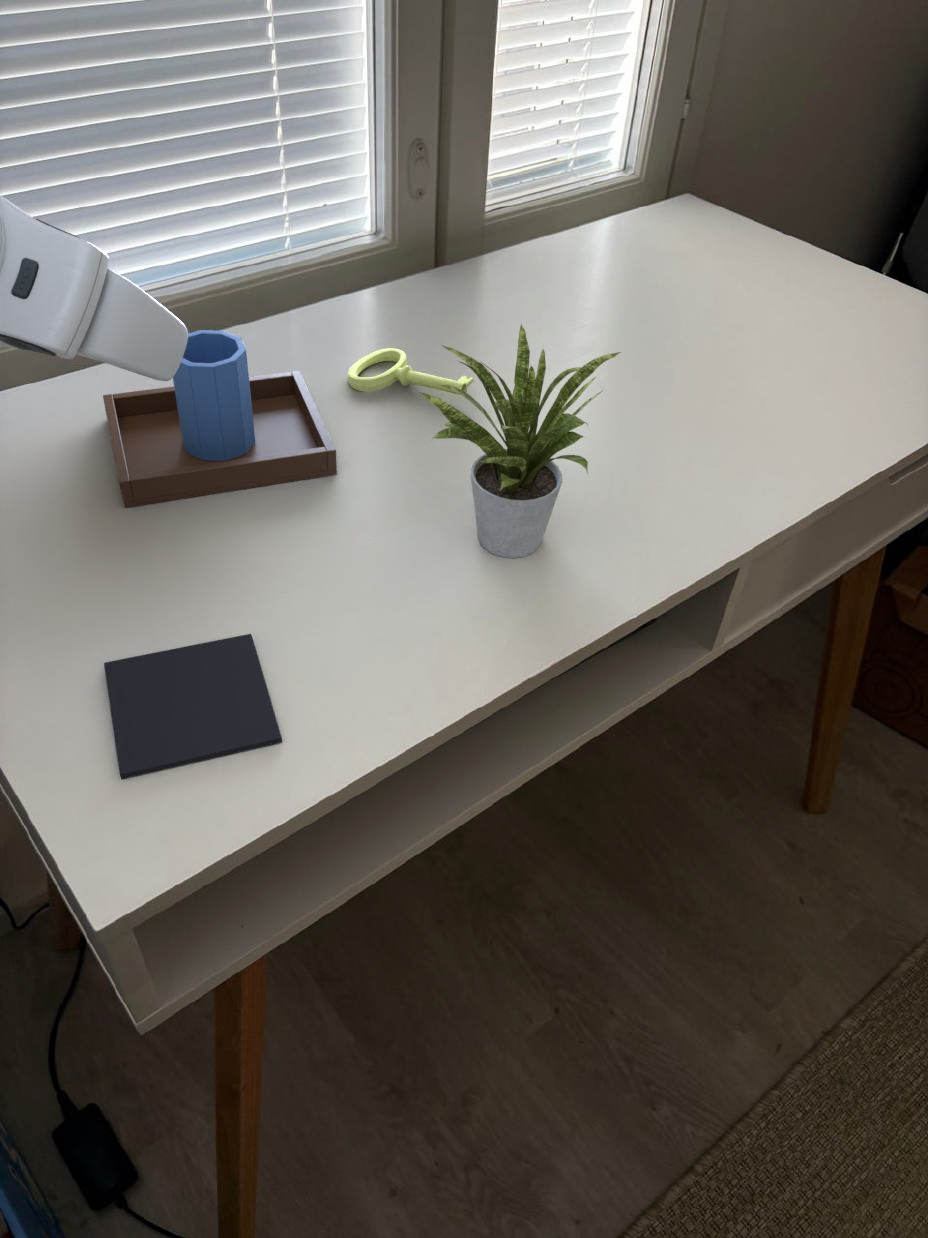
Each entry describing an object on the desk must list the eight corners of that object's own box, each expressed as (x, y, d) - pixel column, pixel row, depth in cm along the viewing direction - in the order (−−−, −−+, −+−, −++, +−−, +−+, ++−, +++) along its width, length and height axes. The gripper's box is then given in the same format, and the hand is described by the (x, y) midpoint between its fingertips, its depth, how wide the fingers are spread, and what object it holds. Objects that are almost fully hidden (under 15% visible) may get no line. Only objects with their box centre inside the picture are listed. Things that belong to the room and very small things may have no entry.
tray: (124, 507, 82) (119, 482, 80) (107, 419, 91) (102, 394, 89) (337, 474, 87) (336, 449, 85) (300, 393, 96) (299, 370, 94)
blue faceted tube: (189, 466, 85) (175, 371, 79) (178, 427, 90) (163, 333, 83) (260, 455, 87) (251, 361, 81) (246, 417, 91) (236, 325, 85)
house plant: (532, 461, 90) (553, 285, 78) (639, 545, 82) (679, 363, 71) (397, 512, 83) (400, 329, 72) (499, 609, 75) (519, 420, 64)
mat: (121, 779, 62) (119, 774, 62) (105, 667, 69) (103, 662, 68) (282, 742, 65) (281, 737, 64) (251, 638, 72) (251, 633, 71)
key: (468, 407, 95) (469, 387, 94) (341, 389, 97) (341, 369, 95) (480, 370, 101) (482, 351, 99) (360, 354, 102) (360, 334, 100)
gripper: (-187, 272, 61) (-20, 350, 74) (80, 359, 55) (210, 427, 68) (-153, 173, 61) (9, 269, 74) (118, 250, 55) (242, 339, 68)
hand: (107, 345), depth 71 cm, fingers open, 8 cm apart
